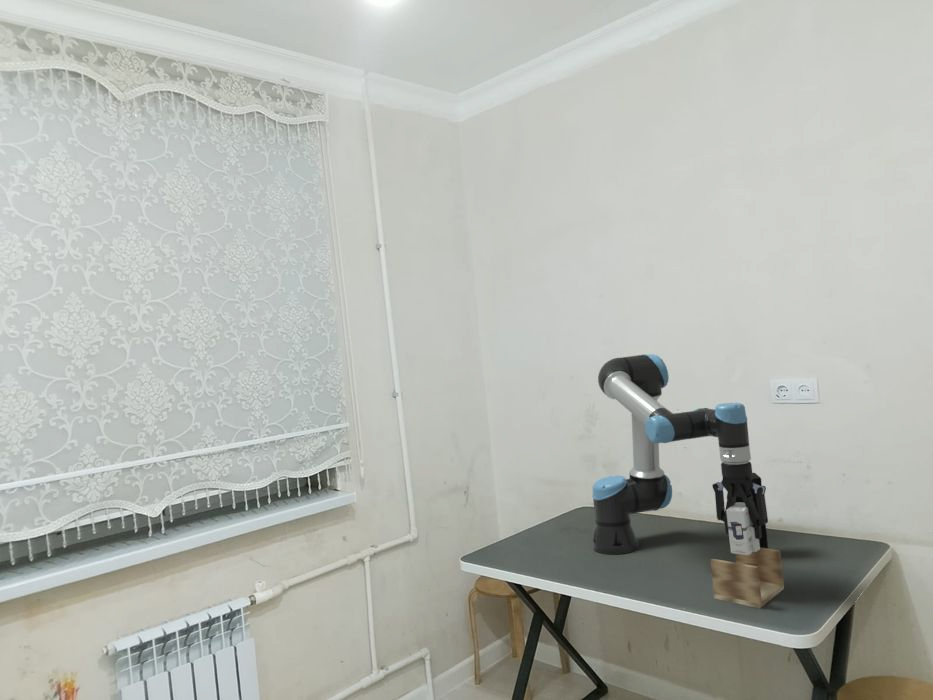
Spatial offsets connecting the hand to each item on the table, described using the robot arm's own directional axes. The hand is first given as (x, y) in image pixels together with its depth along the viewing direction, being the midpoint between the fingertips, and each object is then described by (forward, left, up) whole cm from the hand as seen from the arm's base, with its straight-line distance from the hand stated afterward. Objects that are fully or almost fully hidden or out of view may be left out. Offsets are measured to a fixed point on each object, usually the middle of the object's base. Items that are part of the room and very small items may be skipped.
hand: (745, 548), depth 171 cm
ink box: (0, 0, 0) cm, 0 cm away
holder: (0, 0, -12) cm, 12 cm away
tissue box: (-11, +28, -12) cm, 33 cm away
